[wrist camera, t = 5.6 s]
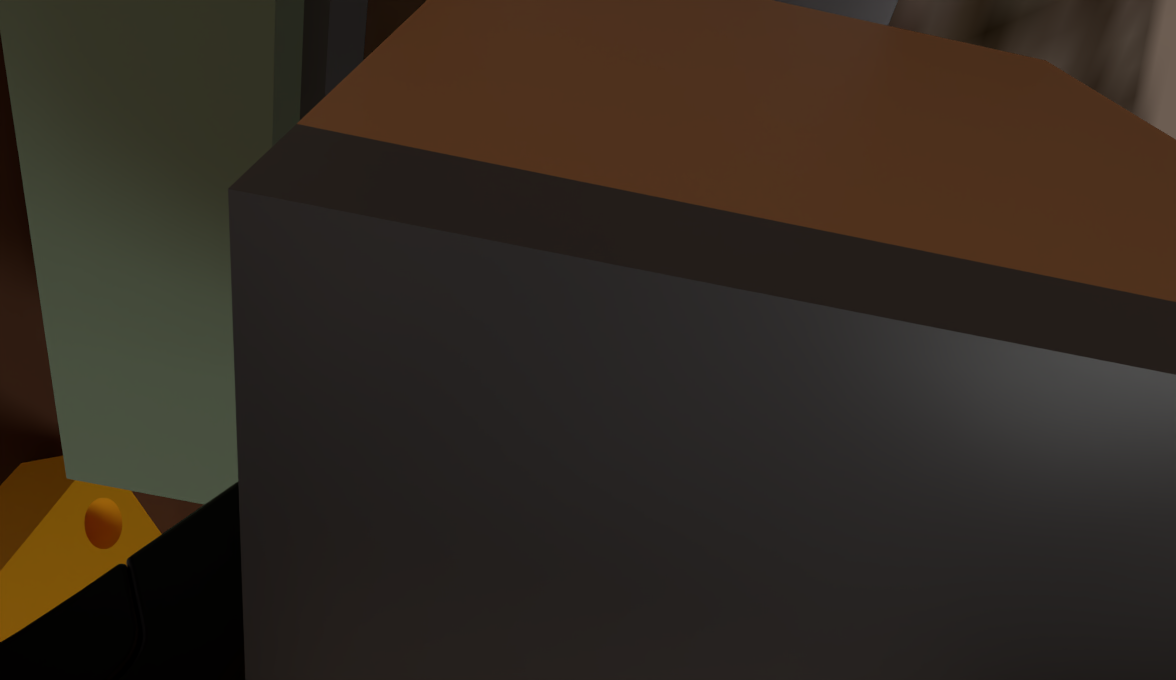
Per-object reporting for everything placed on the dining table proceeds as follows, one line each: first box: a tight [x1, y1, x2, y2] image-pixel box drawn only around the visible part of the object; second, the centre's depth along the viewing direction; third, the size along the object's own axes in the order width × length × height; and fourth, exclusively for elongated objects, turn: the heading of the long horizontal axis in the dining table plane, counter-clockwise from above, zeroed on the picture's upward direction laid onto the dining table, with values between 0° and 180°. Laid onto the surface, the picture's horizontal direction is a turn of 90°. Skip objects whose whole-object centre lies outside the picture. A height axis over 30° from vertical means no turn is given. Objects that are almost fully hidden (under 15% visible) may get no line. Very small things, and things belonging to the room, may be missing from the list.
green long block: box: [0, 0, 368, 504], centre depth 15 cm, size 4×16×5 cm, turn 167°
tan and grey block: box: [228, 0, 1176, 680], centre depth 7 cm, size 5×9×6 cm, turn 169°
